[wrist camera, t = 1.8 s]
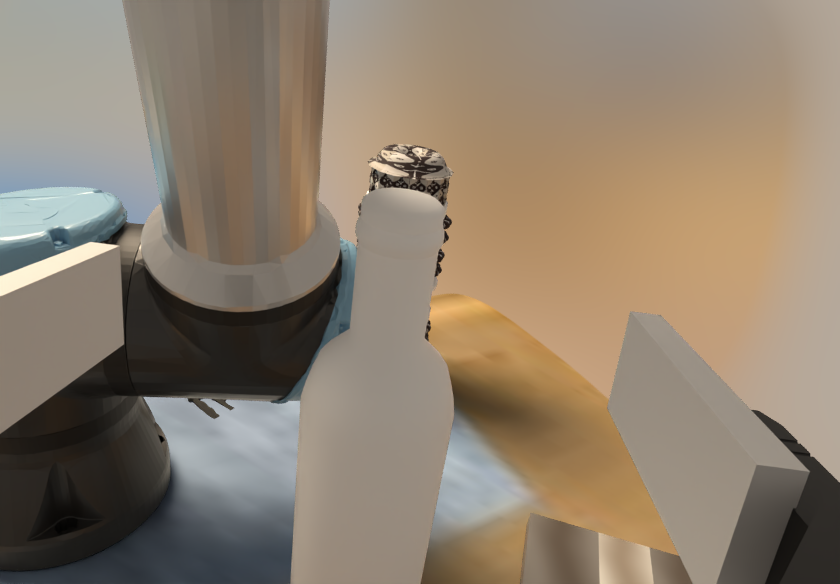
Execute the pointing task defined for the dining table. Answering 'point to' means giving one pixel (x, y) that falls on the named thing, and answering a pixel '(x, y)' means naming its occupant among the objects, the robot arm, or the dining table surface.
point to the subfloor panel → (592, 558)
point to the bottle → (376, 410)
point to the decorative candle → (413, 181)
